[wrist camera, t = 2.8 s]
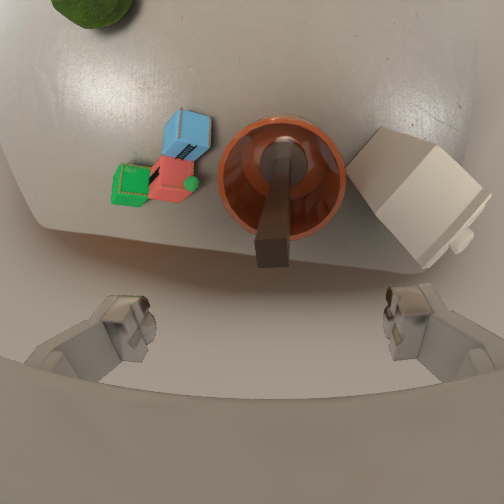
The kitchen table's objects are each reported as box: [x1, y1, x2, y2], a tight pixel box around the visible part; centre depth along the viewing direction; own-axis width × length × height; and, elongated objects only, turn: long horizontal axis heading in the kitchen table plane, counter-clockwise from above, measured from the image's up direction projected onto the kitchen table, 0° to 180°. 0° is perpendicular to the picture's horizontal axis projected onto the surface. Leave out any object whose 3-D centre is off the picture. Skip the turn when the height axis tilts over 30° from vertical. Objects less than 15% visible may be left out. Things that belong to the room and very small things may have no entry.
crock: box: [217, 114, 346, 240], centre depth 30 cm, size 11×11×11 cm
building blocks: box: [111, 108, 212, 207], centre depth 33 cm, size 8×8×12 cm
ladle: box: [254, 139, 308, 268], centre depth 24 cm, size 5×5×23 cm
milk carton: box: [345, 127, 492, 270], centre depth 25 cm, size 7×7×19 cm
